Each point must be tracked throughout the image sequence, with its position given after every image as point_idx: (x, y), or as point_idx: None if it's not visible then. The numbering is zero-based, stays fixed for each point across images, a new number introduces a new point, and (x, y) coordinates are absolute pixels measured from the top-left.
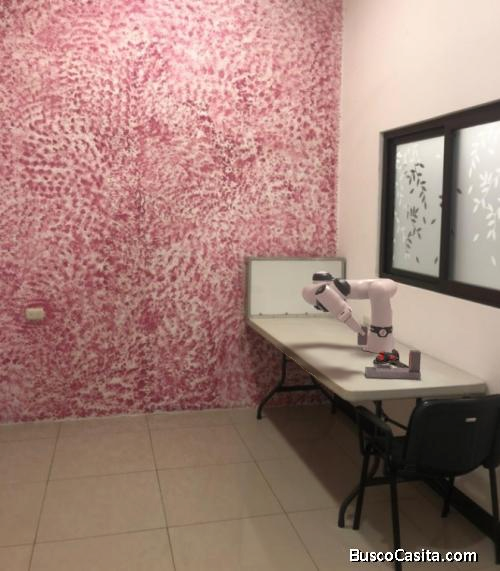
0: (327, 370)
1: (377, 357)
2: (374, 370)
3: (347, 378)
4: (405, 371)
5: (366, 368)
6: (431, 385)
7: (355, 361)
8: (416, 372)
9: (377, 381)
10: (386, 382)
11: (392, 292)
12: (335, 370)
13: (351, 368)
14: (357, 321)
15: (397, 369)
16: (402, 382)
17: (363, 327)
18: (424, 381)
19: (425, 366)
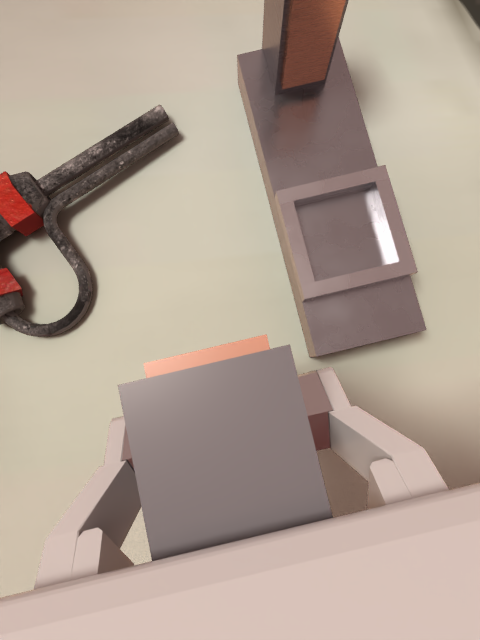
0: None
1: (3, 309)
2: (387, 288)
3: (469, 441)
4: (338, 112)
5: (357, 342)
6: (423, 9)
7: (41, 450)
8: (337, 53)
9: (461, 268)
10: (461, 221)
11: None
12: None
13: None
14: (154, 629)
15: (308, 158)
16: (426, 143)
17: (305, 416)
18: (361, 42)
19: (43, 49)
